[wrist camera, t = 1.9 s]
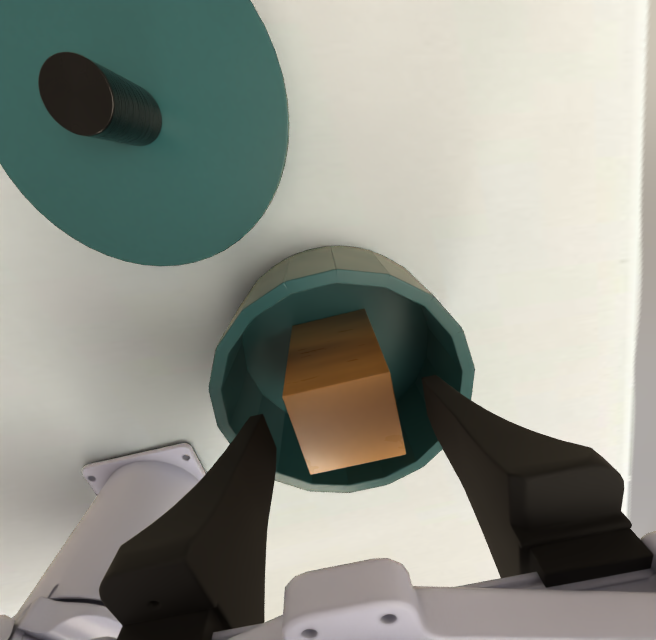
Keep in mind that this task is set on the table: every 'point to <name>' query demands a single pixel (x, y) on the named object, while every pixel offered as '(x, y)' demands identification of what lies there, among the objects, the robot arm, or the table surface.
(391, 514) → the table surface
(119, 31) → the pot lid
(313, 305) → the pot
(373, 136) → the table surface
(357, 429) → the maple block
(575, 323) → the table surface
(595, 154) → the table surface
